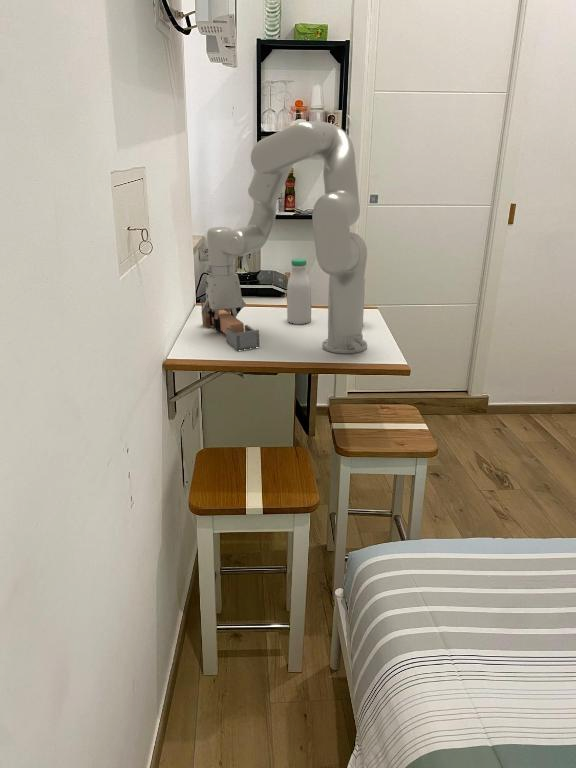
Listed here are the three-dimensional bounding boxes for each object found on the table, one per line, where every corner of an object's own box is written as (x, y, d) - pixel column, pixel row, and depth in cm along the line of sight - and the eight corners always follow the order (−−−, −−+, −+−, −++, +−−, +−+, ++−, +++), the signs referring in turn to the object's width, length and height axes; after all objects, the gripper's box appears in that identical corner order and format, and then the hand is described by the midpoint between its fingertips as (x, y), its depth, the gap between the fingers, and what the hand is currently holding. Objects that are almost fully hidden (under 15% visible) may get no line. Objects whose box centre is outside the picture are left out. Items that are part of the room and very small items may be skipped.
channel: (259, 347, 172) (259, 330, 170) (237, 351, 170) (236, 333, 168) (247, 339, 180) (247, 322, 178) (226, 342, 177) (225, 325, 175)
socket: (230, 324, 194) (229, 302, 191) (206, 328, 191) (205, 305, 188) (226, 321, 197) (225, 299, 195) (202, 324, 194) (201, 302, 191)
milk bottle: (311, 324, 193) (311, 261, 185) (287, 325, 193) (286, 261, 185) (311, 318, 200) (311, 257, 192) (287, 318, 200) (286, 257, 192)
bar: (244, 336, 179) (243, 323, 177) (231, 338, 177) (230, 324, 175) (221, 319, 195) (220, 307, 194) (209, 321, 194) (208, 308, 192)
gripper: (198, 275, 174) (202, 336, 181) (252, 269, 180) (255, 329, 187) (191, 270, 180) (195, 330, 187) (243, 265, 187) (246, 322, 193)
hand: (225, 329), depth 187 cm, fingers closed on bar, 4 cm apart
